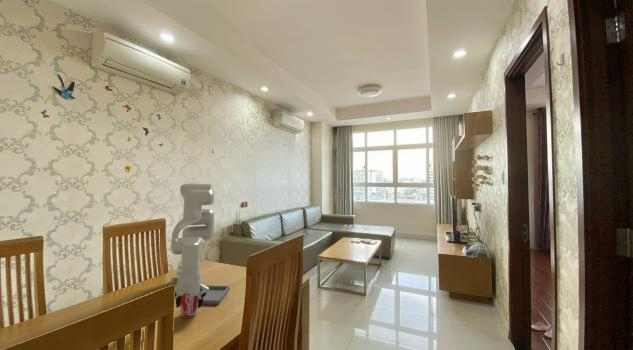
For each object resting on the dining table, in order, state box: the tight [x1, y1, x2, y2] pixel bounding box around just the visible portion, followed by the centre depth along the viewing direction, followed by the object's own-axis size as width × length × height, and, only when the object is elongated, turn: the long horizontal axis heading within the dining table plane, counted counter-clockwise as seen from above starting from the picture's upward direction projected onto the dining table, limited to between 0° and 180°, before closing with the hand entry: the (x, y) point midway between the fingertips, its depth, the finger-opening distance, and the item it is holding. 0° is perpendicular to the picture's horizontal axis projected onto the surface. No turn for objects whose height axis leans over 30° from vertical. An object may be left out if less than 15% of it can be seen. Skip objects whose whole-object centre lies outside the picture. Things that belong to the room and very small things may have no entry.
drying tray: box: [198, 284, 231, 306], centre depth 132 cm, size 18×16×2 cm
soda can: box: [180, 293, 199, 319], centre depth 115 cm, size 7×7×12 cm
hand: (189, 306), depth 115 cm, fingers open, 9 cm apart
